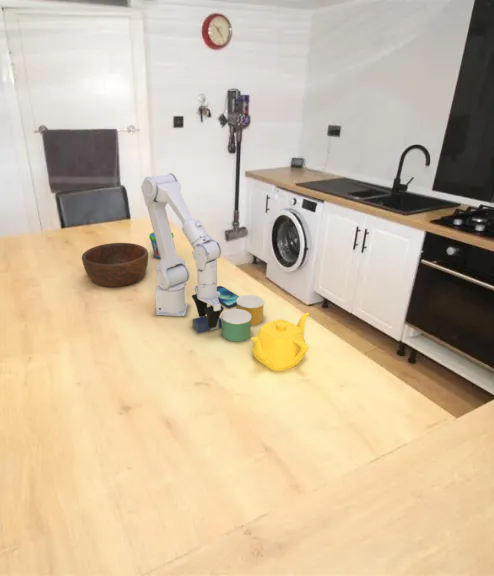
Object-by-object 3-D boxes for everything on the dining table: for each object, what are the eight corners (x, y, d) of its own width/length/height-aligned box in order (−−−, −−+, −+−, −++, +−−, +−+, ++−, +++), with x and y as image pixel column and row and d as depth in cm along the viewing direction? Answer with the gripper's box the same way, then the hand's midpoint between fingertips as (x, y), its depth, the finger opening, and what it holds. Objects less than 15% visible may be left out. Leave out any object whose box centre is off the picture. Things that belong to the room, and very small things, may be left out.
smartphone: (220, 285, 152) (245, 300, 141) (220, 287, 153) (245, 302, 141) (203, 290, 149) (227, 306, 137) (203, 292, 149) (227, 308, 137)
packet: (197, 333, 123) (197, 324, 122) (192, 327, 127) (192, 318, 125) (221, 327, 126) (221, 319, 125) (216, 321, 130) (216, 313, 128)
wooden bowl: (71, 284, 155) (67, 259, 151) (109, 262, 176) (106, 239, 172) (127, 295, 147) (125, 269, 142) (160, 270, 168) (159, 246, 163)
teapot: (274, 390, 100) (277, 353, 95) (232, 360, 111) (233, 326, 106) (330, 358, 112) (336, 324, 107) (288, 334, 123) (291, 302, 118)
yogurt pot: (220, 341, 120) (220, 322, 117) (222, 325, 127) (222, 308, 125) (250, 342, 119) (251, 324, 116) (250, 327, 127) (251, 309, 124)
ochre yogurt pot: (235, 324, 128) (235, 306, 125) (236, 311, 136) (236, 294, 133) (263, 325, 127) (264, 308, 125) (262, 312, 135) (263, 295, 133)
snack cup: (149, 251, 189) (147, 229, 184) (171, 249, 191) (170, 228, 186) (152, 263, 175) (151, 240, 171) (176, 261, 177) (176, 238, 173)
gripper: (230, 288, 115) (229, 329, 121) (209, 270, 127) (209, 308, 133) (207, 292, 113) (208, 334, 118) (188, 274, 125) (189, 313, 130)
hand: (207, 321), depth 126 cm, fingers open, 7 cm apart
